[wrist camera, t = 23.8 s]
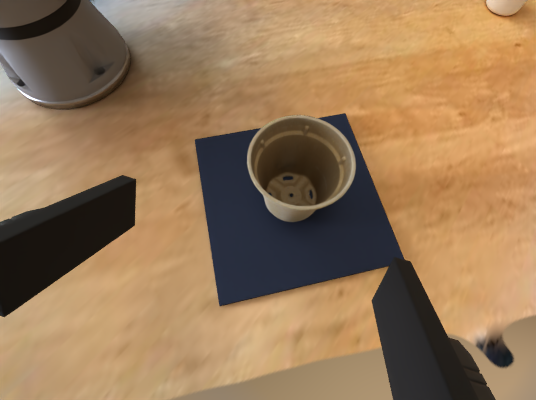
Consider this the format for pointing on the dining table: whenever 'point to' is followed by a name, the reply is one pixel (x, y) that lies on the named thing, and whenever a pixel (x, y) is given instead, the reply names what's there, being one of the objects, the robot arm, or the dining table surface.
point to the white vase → (505, 6)
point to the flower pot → (300, 165)
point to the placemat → (286, 225)
